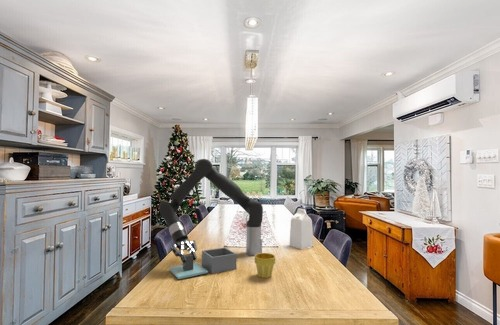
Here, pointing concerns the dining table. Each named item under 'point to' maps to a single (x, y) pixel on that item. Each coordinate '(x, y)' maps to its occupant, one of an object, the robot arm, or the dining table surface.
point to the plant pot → (264, 264)
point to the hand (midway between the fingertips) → (190, 260)
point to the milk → (301, 230)
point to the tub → (219, 260)
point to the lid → (188, 268)
